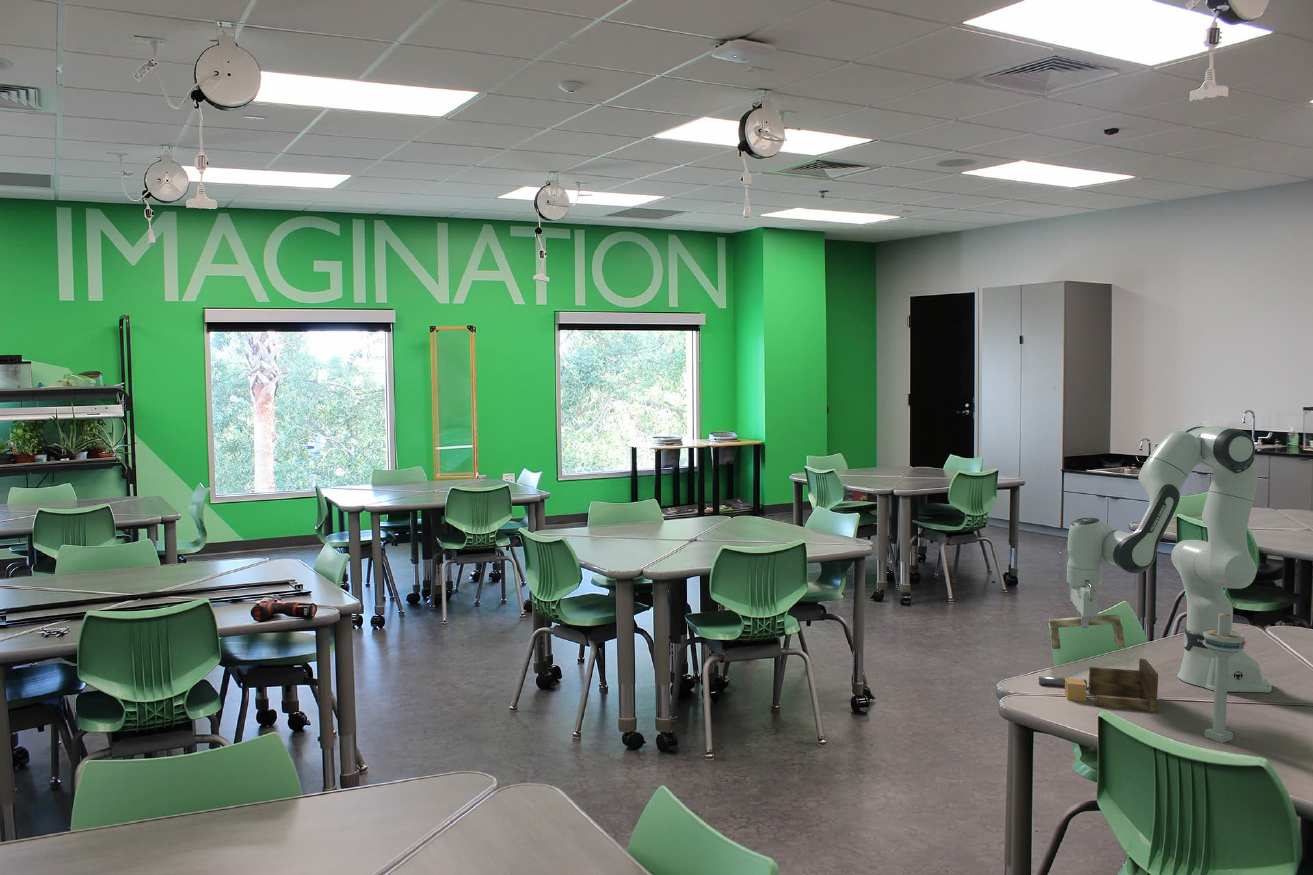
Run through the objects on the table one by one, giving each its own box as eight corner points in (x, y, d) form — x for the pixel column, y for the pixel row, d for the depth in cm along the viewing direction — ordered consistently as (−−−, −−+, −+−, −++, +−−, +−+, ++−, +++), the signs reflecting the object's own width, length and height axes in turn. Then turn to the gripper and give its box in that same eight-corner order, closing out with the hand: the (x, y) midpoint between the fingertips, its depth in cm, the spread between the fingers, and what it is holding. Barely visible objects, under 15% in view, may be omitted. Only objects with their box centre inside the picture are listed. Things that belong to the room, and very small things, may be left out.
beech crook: (1120, 640, 263) (1116, 612, 263) (1124, 646, 257) (1121, 618, 257) (1050, 644, 268) (1047, 617, 267) (1053, 651, 262) (1050, 623, 261)
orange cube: (1082, 695, 255) (1083, 679, 254) (1085, 701, 250) (1086, 684, 250) (1064, 694, 256) (1065, 678, 255) (1067, 700, 251) (1068, 683, 251)
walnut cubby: (1144, 695, 255) (1145, 658, 254) (1156, 712, 242) (1158, 674, 241) (1087, 690, 258) (1089, 654, 257) (1097, 707, 246) (1098, 669, 245)
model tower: (1212, 728, 231) (1217, 608, 229) (1246, 740, 224) (1253, 616, 222) (1190, 735, 227) (1196, 612, 225) (1225, 747, 220) (1231, 620, 218)
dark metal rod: (1086, 688, 259) (1085, 688, 262) (1086, 679, 260) (1084, 679, 262) (1040, 685, 262) (1038, 685, 264) (1040, 676, 263) (1038, 676, 265)
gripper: (1104, 585, 250) (1103, 637, 251) (1089, 569, 270) (1088, 616, 271) (1078, 584, 252) (1077, 635, 253) (1065, 568, 272) (1064, 615, 273)
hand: (1083, 625), depth 262 cm, fingers closed on beech crook
